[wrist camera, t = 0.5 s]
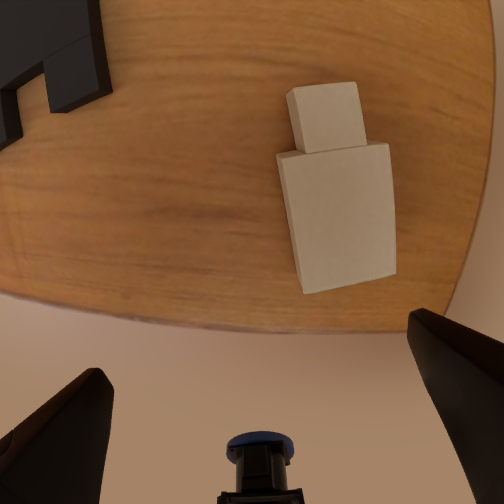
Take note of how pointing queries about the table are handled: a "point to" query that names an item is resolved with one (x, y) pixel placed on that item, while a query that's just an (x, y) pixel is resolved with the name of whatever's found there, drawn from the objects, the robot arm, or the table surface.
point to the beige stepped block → (336, 191)
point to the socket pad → (50, 56)
